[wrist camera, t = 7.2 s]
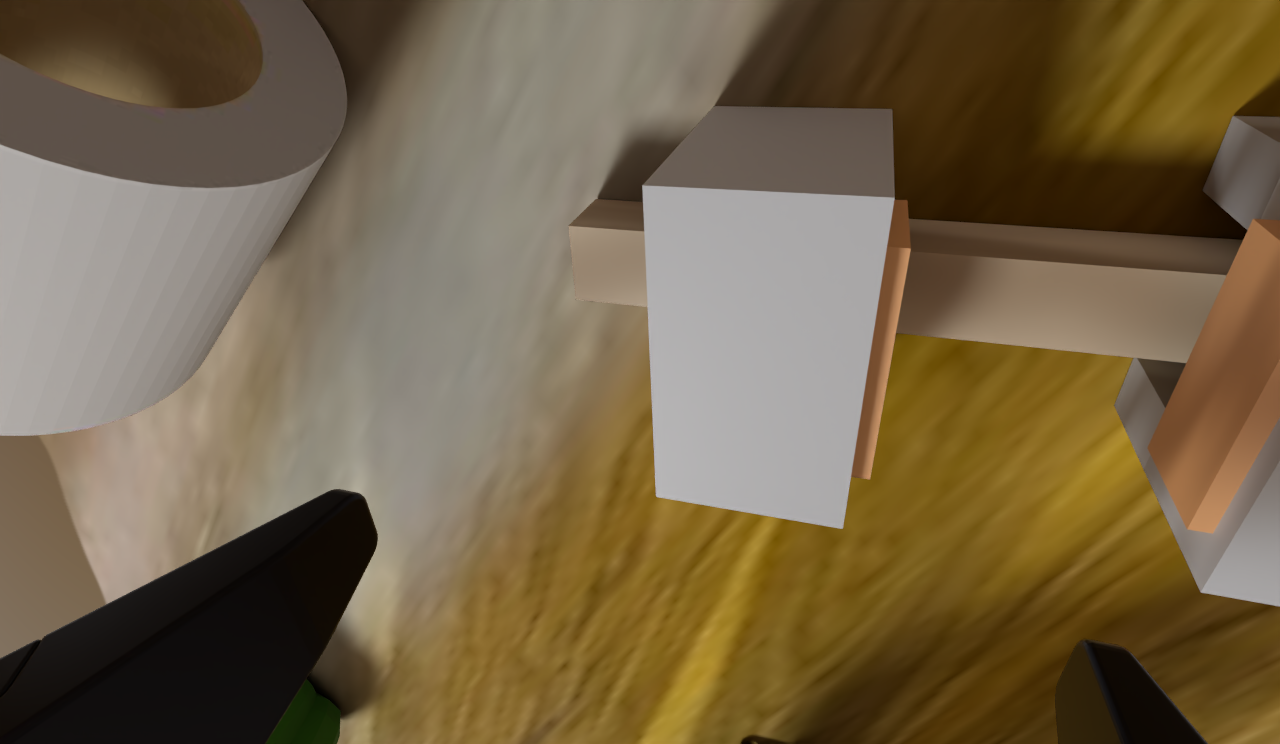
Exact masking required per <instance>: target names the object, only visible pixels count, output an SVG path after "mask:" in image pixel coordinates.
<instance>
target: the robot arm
mask: <svg viewBox="0 0 1280 744" xmlns="http://www.w3.org/2000/svg"><path fill="white" fill-rule="evenodd" d="M377 541H378V534H377V530H376V528H375V525H374V522H373V519H372V516H371V513H370V510H369V507H368V504H367V502H366V499H365V498H364V497H363V496H362V495H361V494H359V493H356V492H351V491H346V490H341V489H334V490H331V491H328V492H326V493H324V494H322V495H320V496H318V497H316V498H314V499H313V500H311V501H309V502H307V503H305V504H303V505H301V506H299V507H297V508H295V509H293V510H291V511H289V512H287V513H285V514H283V515H281V516H279V517H277V518H275V519H273V520H271V521H269V522H267V523H265V524H263V525H261V526H260V527H258V528H256V529H254V530H252V531H250V532H248V533H246V534H244V535H242V536H240V537H238V538H236V539H234V540H232V541H230V542H228V543H226V544H224V545H222V546H220V547H218V548H216V549H214V550H212V551H210V552H209V553H207V554H205V555H203V556H201V557H199V558H197V559H195V560H193V561H191V562H189V563H187V564H185V565H183V566H181V567H179V568H177V569H175V570H173V571H171V572H169V573H167V574H165V575H163V576H161V577H159V578H157V579H155V580H153V581H152V582H150V583H148V584H146V585H144V586H142V587H140V588H138V589H136V590H134V591H132V592H130V593H128V594H126V595H124V596H122V597H120V598H118V599H116V600H114V601H112V602H110V603H108V604H106V605H104V606H103V607H100V608H98V609H96V610H95V611H93V612H91V613H89V614H87V615H85V616H83V617H81V618H79V619H77V620H75V621H73V622H71V623H69V624H67V625H65V626H63V627H61V628H59V629H57V630H55V631H53V632H51V633H49V634H47V635H46V636H44V638H43V639H42V640H36V641H33V642H32V643H30V644H27V645H26V646H24V647H22V648H20V649H18V650H16V651H14V652H12V653H10V654H8V655H6V656H4V657H2V658H0V744H266V742H267V741H268V739H269V737H270V736H271V734H272V733H273V731H274V730H275V728H276V726H277V725H278V723H279V722H280V720H281V718H282V717H283V715H284V714H285V712H286V711H287V709H288V707H289V706H290V704H291V703H292V701H293V699H294V698H295V696H296V695H297V693H298V691H299V690H300V688H301V687H302V685H303V684H304V682H305V680H306V679H307V677H308V676H309V674H310V672H311V671H312V669H313V668H314V666H315V665H316V663H317V661H318V660H319V658H320V656H321V655H322V653H323V651H324V650H325V648H326V646H327V644H328V642H329V640H330V639H331V637H332V635H333V633H334V631H335V629H336V627H337V625H338V623H339V621H340V619H341V617H342V615H343V613H344V611H345V609H346V607H347V605H348V603H349V601H350V600H351V598H352V596H353V594H354V592H355V590H356V588H357V586H358V584H359V582H360V580H361V578H362V576H363V574H364V572H365V570H366V568H367V566H368V564H369V562H370V560H371V558H372V556H373V554H374V552H375V549H376V546H377ZM1055 708H1056V720H1057V733H1058V744H1208V743H1207V742H1206V741H1205V740H1204V738H1203V737H1202V736H1201V735H1200V734H1199V733H1198V731H1197V730H1196V729H1195V728H1194V727H1193V725H1192V724H1191V723H1190V722H1189V721H1188V720H1187V718H1186V717H1185V716H1184V715H1183V714H1182V712H1181V711H1180V710H1179V709H1178V708H1177V706H1176V705H1175V704H1174V703H1173V702H1172V701H1171V699H1170V698H1169V697H1168V696H1167V695H1166V693H1165V692H1164V691H1163V690H1162V689H1161V688H1160V686H1159V685H1158V684H1157V683H1156V682H1155V680H1154V679H1153V678H1152V677H1151V676H1150V674H1149V673H1148V672H1147V671H1146V670H1145V669H1144V667H1143V666H1142V665H1141V664H1140V663H1139V661H1138V660H1137V659H1136V658H1135V657H1134V656H1133V654H1132V653H1131V652H1129V651H1128V650H1127V649H1125V648H1124V647H1122V646H1119V645H1115V644H1110V643H1105V642H1100V641H1095V640H1090V639H1083V640H1081V641H1079V642H1078V643H1077V645H1076V646H1075V648H1074V650H1073V652H1072V654H1071V656H1070V658H1069V660H1068V662H1067V664H1066V666H1065V668H1064V670H1063V672H1062V674H1061V676H1060V678H1059V681H1058V683H1057V687H1056V694H1055Z"/></svg>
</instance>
